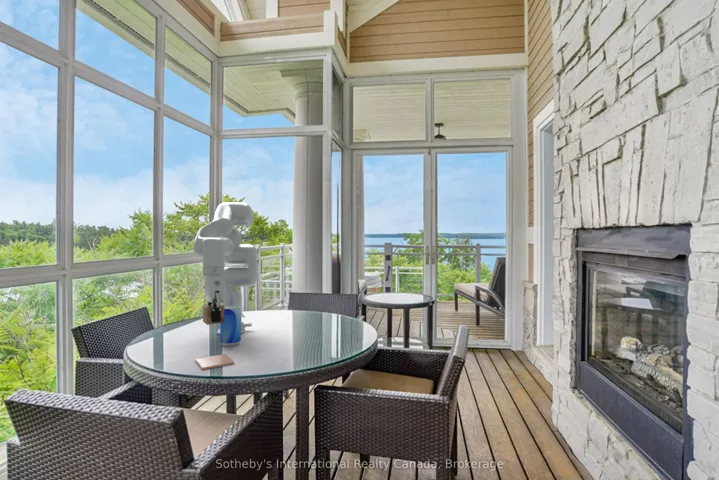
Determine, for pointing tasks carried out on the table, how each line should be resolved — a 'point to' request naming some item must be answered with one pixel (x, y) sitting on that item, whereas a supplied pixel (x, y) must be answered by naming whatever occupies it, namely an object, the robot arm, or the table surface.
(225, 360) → the coaster
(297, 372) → the table surface
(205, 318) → the walnut block
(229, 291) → the robot arm
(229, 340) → the beer can
